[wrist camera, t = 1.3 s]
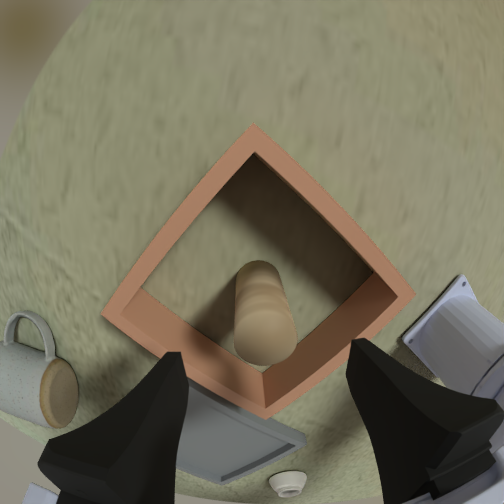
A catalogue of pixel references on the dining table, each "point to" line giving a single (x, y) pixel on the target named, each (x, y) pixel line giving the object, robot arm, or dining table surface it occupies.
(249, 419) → the slate tray
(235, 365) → the terracotta planter box
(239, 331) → the maple pin
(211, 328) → the dining table surface
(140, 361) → the dining table surface
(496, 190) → the dining table surface
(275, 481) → the white jar
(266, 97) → the dining table surface
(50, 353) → the ceramic mug
